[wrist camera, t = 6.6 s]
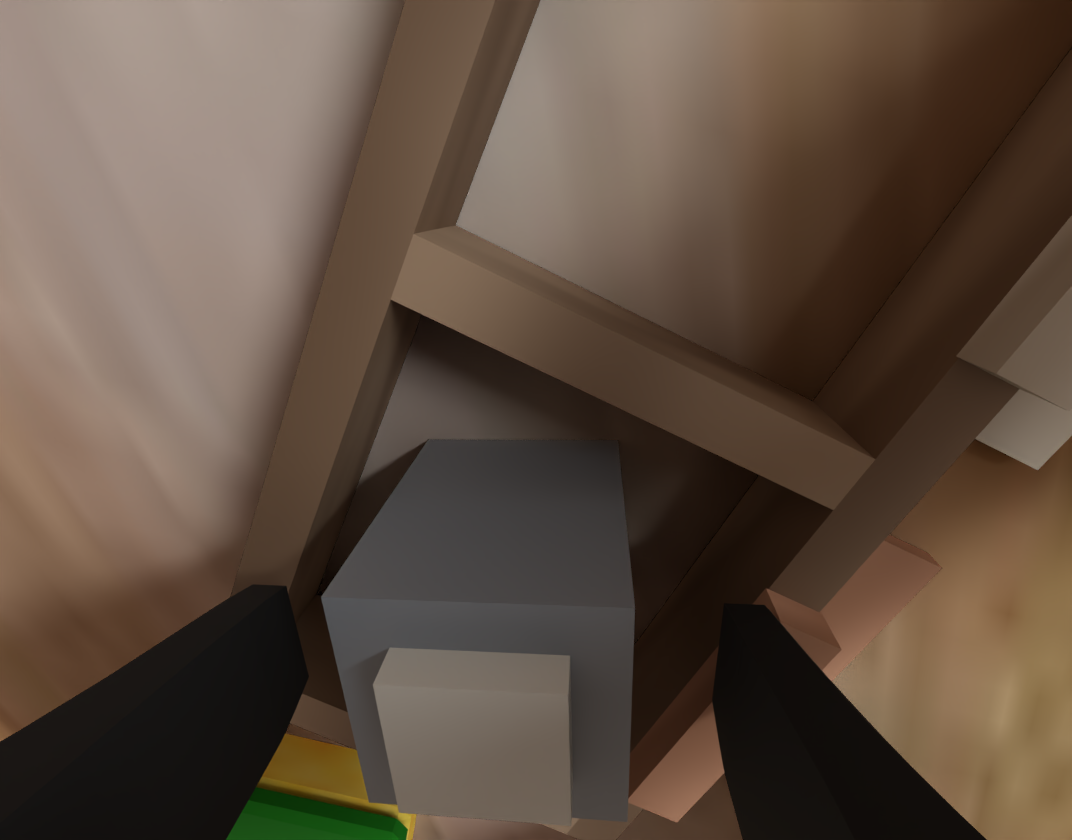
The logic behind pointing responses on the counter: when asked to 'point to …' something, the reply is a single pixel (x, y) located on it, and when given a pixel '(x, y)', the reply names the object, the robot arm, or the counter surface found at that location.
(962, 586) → the counter surface
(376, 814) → the dish sponge
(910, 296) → the wooden divided tray
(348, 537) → the counter surface
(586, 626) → the plug
